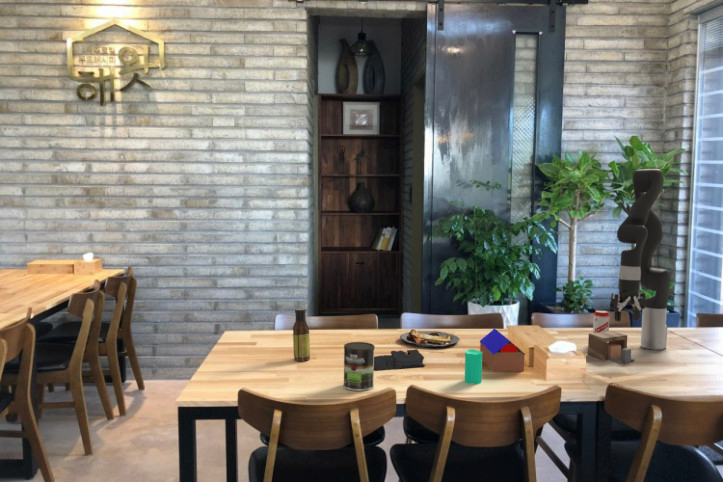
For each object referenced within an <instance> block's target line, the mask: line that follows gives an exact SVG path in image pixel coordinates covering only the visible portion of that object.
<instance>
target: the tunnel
mask: <svg viewBox="0 0 723 482" xmlns="http://www.w3.org/2000/svg"><path fill="white" fill-rule="evenodd" d="M587 338H588V339H587V340H588V342H587V343H588V346H587V356H590V357H592V358H596V359H598V360H601V361H606V360H607V359H606V345H607V342H608V343H611V342H612V343H615V344H618V345H621V349H625V348H628V335H627V334H624V333H620V332H616V331H613V330H609V331H607V332H598V333H593V332H591V333H588V337H587Z"/></svg>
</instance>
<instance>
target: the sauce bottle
mask: <svg viewBox="0 0 723 482" xmlns="http://www.w3.org/2000/svg"><path fill="white" fill-rule="evenodd" d="M306 312H307V311H306V308H303V307H299V308H297V307H296V308H294V314H295V322H294V323H293V327H292V340H293V342H292V344H293V358H294V361H297V362H299V363H300V362H307V361H309V360H310V359H311V357H310V356H311V343H310V329H309V326H308V324H307V321H306V320H307V319H306Z"/></svg>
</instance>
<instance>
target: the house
mask: <svg viewBox="0 0 723 482" xmlns="http://www.w3.org/2000/svg"><path fill="white" fill-rule="evenodd" d="M479 344H480V346H479V351H481V352H482V362H484V363H485V364H486V365H487V367H488V368H489V369H490V370H491V371H492V372H495V373H496V372H497V373H499V372H501V373H502V372H504V373H505V372H506V373H507V372H525V355H526V353H525V352H524V351H523V350H521V349H520V348H519V347H518V346H517V345H516V344H514V343H513V342H512V341H511V340H510V339H509V338H507V337H506V336H504V334H502V333H501V332H500V331H498V330H497V329H496V328H493V329H492V330H491V331H490V332H489V333H487V334H486V335H485V336H483V337H482V338H481V339H480V340H479Z"/></svg>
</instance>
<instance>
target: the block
mask: <svg viewBox="0 0 723 482" xmlns="http://www.w3.org/2000/svg"><path fill="white" fill-rule="evenodd" d="M606 356H608V357H611V358H614V359H618V358H621V345H618V344H615V343H612V342H611V343H609V342H608V343H607V345H606Z"/></svg>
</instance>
